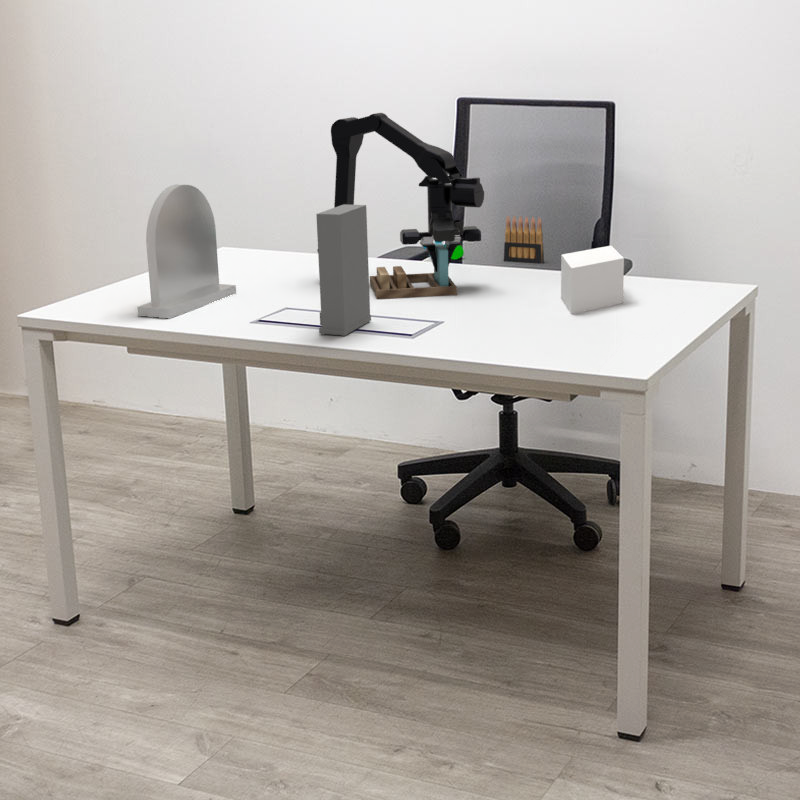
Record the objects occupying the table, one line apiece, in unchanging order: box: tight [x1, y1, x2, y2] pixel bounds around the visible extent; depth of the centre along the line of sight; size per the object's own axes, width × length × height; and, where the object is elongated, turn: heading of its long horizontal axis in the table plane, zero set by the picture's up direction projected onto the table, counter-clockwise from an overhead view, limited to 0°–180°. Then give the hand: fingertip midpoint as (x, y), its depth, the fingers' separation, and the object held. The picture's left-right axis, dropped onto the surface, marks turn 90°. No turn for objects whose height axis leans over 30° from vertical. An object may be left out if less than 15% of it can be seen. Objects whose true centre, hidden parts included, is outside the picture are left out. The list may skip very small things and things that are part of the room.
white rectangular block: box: [560, 245, 625, 315], centre depth 280 cm, size 14×29×10 cm, turn 154°
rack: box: [369, 272, 458, 300], centre depth 298 cm, size 19×18×2 cm
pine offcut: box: [376, 266, 390, 290], centre depth 297 cm, size 2×10×5 cm, turn 6°
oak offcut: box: [392, 265, 407, 289], centre depth 297 cm, size 2×10×5 cm, turn 7°
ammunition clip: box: [503, 215, 545, 265], centre depth 326 cm, size 11×2×12 cm, turn 62°
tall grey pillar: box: [315, 204, 372, 337], centre depth 259 cm, size 14×6×25 cm, turn 159°
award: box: [136, 184, 237, 320], centre depth 285 cm, size 28×9×28 cm, turn 155°
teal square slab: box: [433, 242, 449, 287], centre depth 298 cm, size 2×10×10 cm, turn 6°
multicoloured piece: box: [422, 241, 465, 261], centre depth 338 cm, size 12×7×8 cm
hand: (441, 271), depth 298 cm, fingers closed on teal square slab, 2 cm apart
